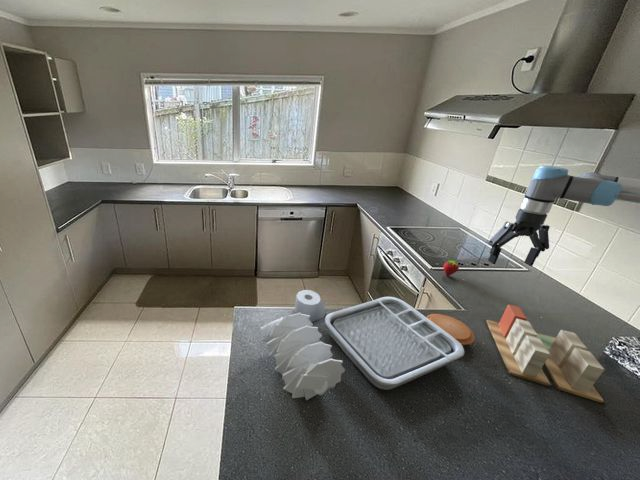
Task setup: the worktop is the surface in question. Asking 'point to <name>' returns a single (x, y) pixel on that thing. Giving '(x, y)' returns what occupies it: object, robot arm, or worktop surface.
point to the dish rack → (391, 341)
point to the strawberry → (450, 267)
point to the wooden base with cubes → (521, 351)
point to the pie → (453, 328)
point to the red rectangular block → (510, 318)
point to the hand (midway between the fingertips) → (509, 263)
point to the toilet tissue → (310, 305)
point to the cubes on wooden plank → (572, 365)
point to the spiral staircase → (301, 356)
